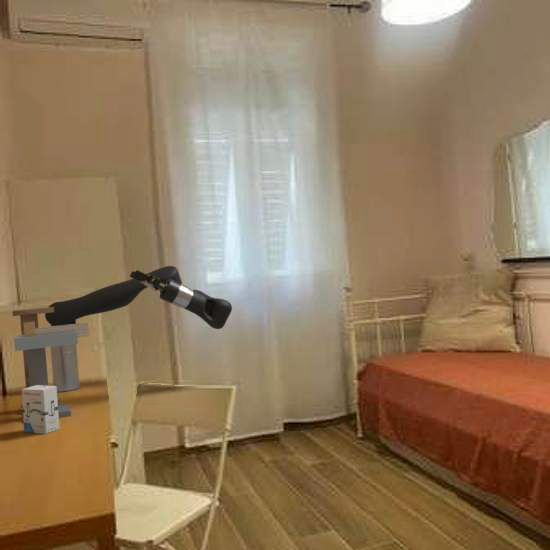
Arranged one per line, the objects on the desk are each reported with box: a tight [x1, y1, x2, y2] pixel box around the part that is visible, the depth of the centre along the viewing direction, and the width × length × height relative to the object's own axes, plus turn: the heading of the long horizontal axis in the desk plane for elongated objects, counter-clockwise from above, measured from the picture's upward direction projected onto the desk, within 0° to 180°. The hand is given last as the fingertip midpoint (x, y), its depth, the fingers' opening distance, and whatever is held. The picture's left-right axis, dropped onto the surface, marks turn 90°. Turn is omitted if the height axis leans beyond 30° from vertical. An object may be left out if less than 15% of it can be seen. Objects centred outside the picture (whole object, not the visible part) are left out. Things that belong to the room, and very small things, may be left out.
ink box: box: [21, 385, 60, 435], centre depth 158 cm, size 9×5×12 cm, turn 62°
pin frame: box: [13, 332, 79, 419], centre depth 178 cm, size 14×17×24 cm
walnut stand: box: [12, 306, 63, 415], centre depth 189 cm, size 9×12×32 cm
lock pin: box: [24, 321, 90, 339], centre depth 179 cm, size 6×18×6 cm, turn 112°
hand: (132, 273), depth 196 cm, fingers open, 8 cm apart
